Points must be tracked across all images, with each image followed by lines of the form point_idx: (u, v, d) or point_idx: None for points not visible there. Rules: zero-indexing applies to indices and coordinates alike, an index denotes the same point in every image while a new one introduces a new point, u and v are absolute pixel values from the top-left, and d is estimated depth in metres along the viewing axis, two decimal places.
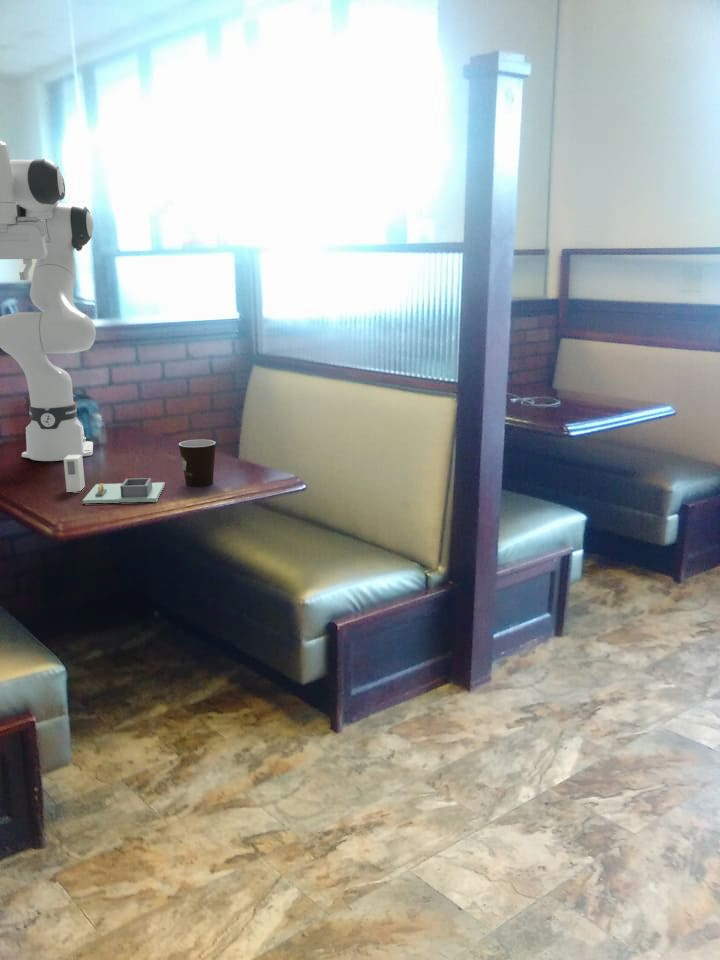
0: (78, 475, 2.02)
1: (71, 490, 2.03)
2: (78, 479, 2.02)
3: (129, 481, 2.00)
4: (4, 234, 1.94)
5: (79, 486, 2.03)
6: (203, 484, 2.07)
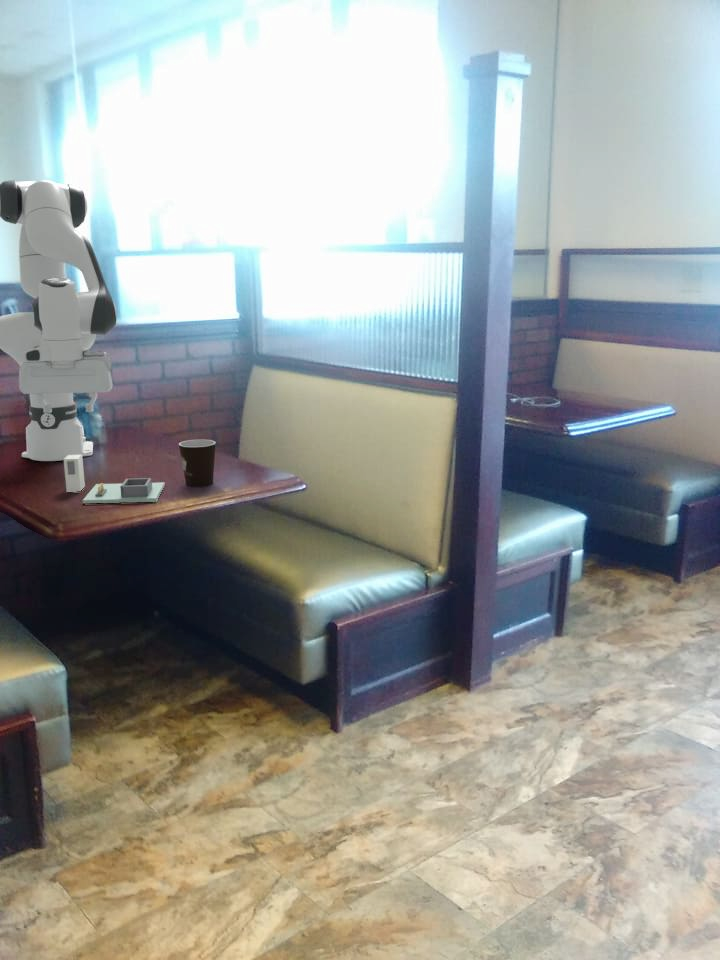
0: (78, 475, 2.02)
1: (71, 490, 2.03)
2: (78, 479, 2.02)
3: (129, 481, 2.00)
4: (71, 369, 1.97)
5: (79, 486, 2.03)
6: (203, 484, 2.07)
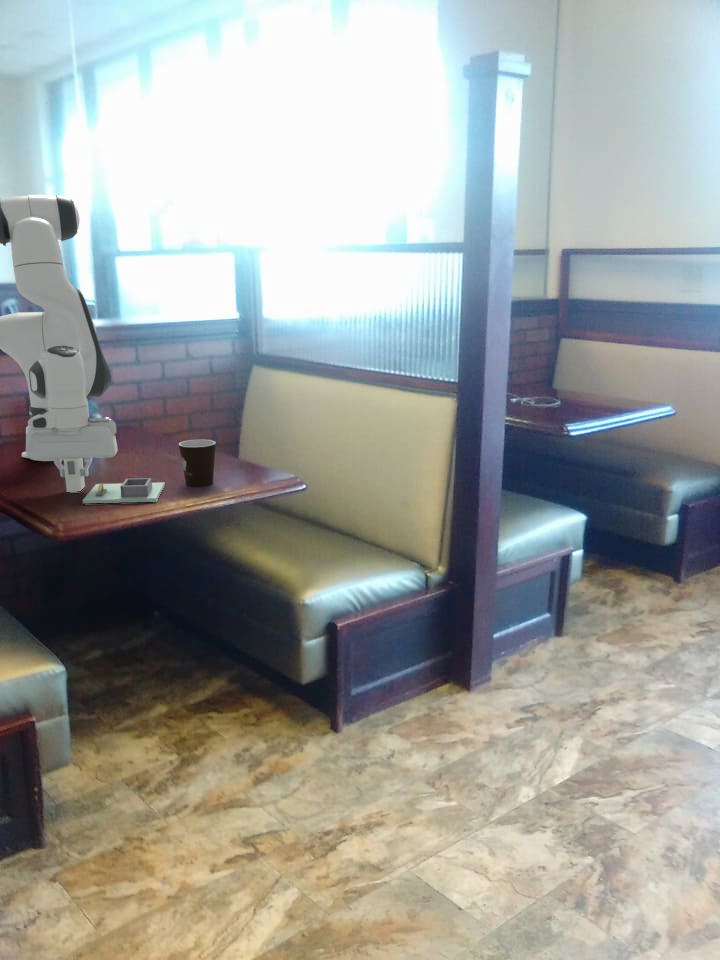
0: (78, 475, 2.02)
1: (71, 490, 2.03)
2: (78, 479, 2.02)
3: (129, 481, 2.00)
4: (77, 435, 2.00)
5: (79, 486, 2.03)
6: (203, 484, 2.07)
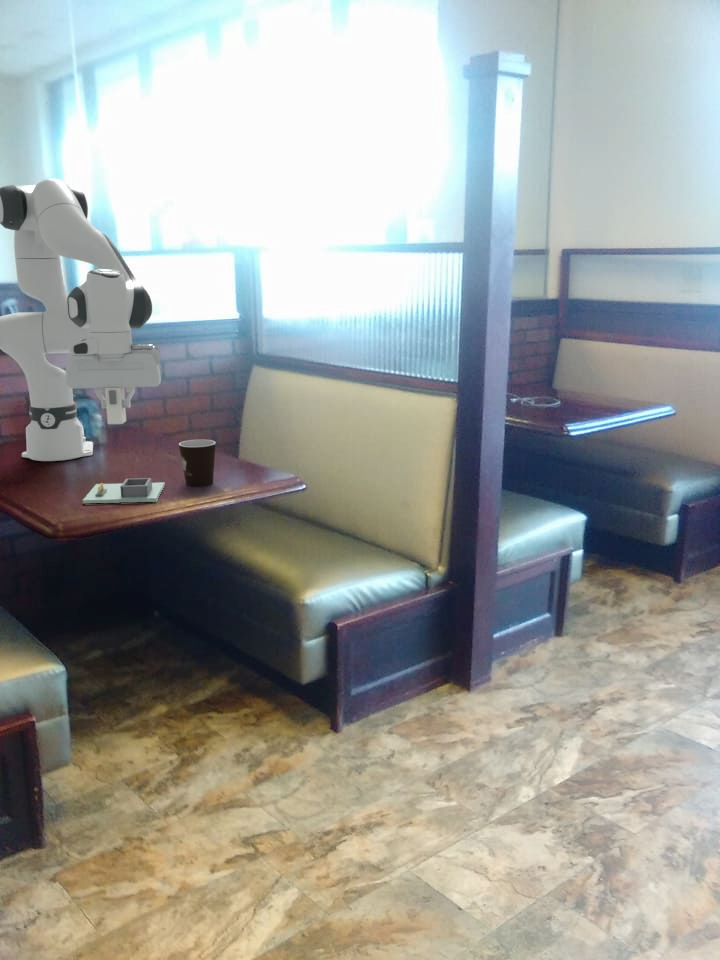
0: (120, 405, 1.92)
1: (112, 422, 1.93)
2: (120, 410, 1.92)
3: (129, 481, 2.00)
4: (120, 363, 1.91)
5: (121, 417, 1.92)
6: (203, 484, 2.07)
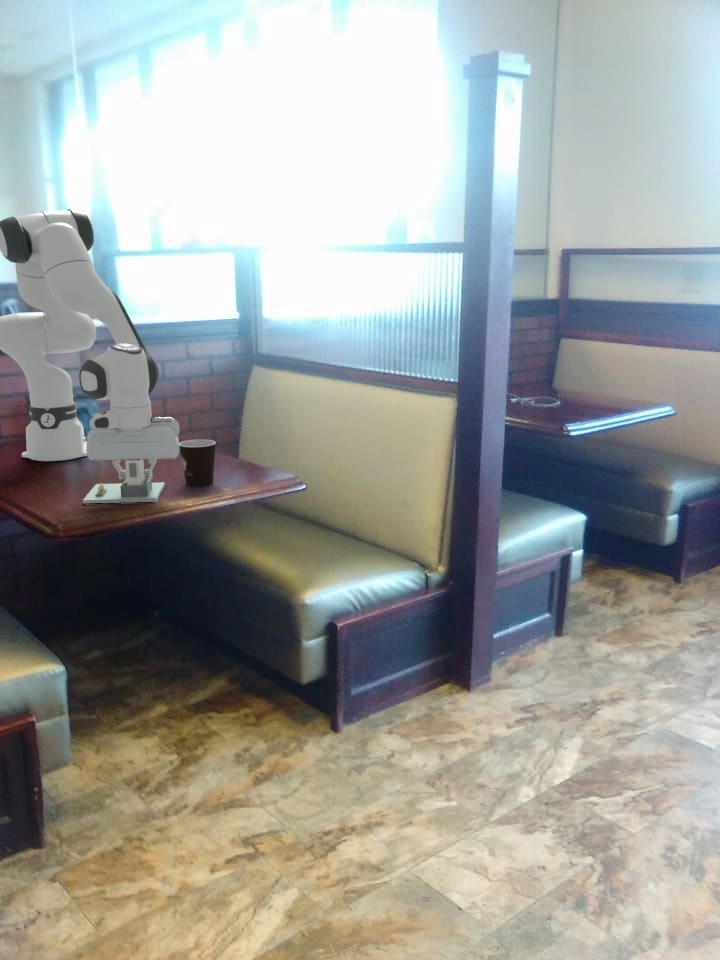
0: (140, 477, 1.95)
1: None
2: (140, 482, 1.95)
3: None
4: (140, 436, 1.94)
5: None
6: (203, 484, 2.07)
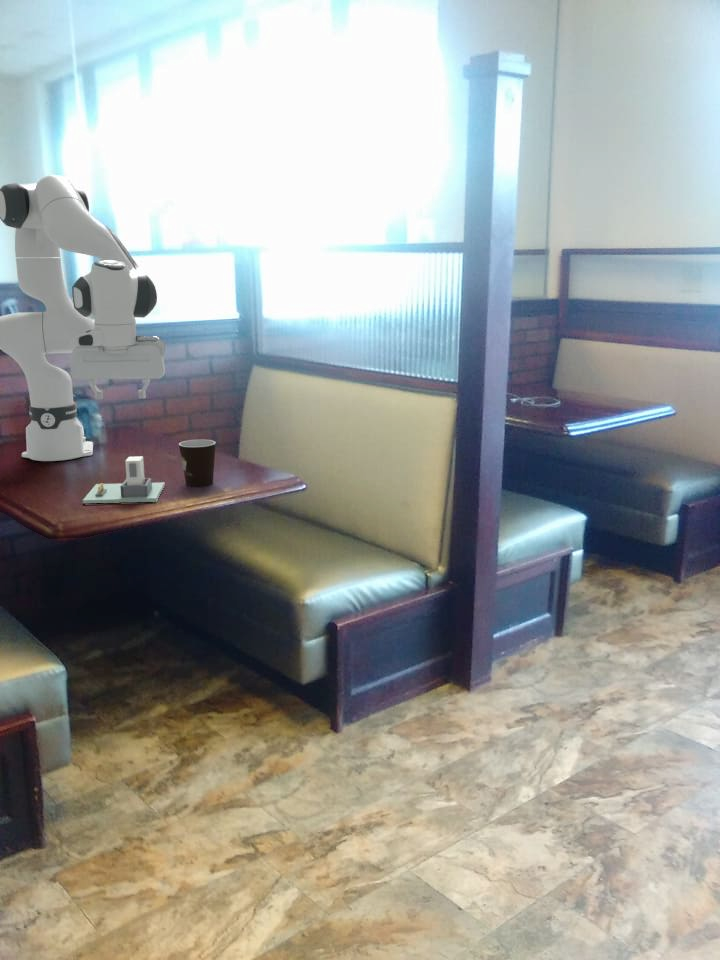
0: (140, 477, 1.95)
1: None
2: (140, 482, 1.95)
3: None
4: (124, 355, 1.92)
5: None
6: (203, 484, 2.07)
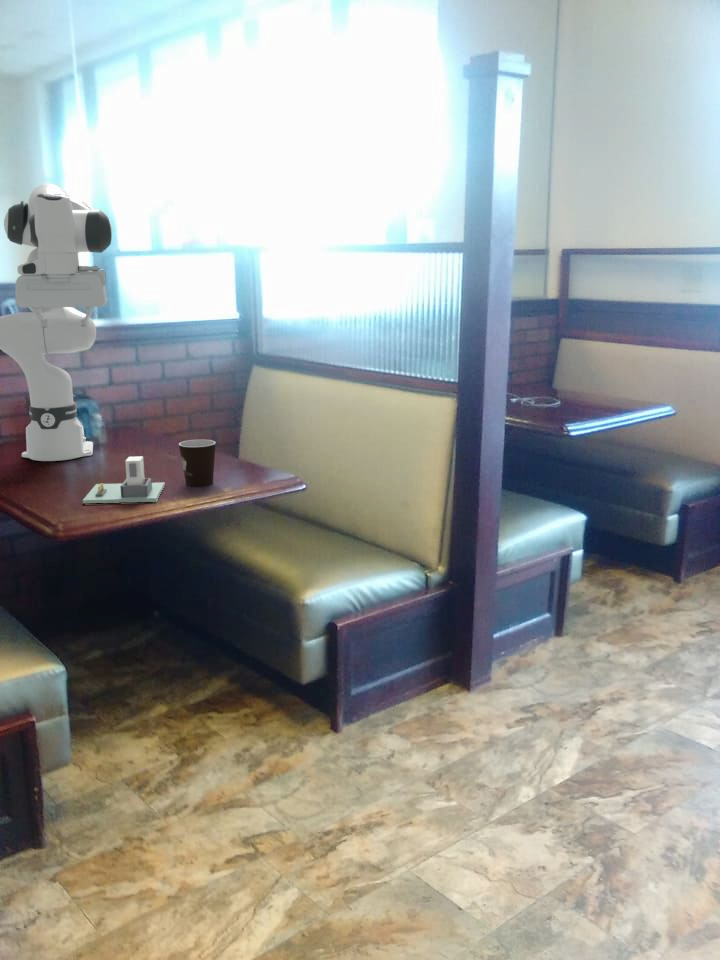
0: (140, 477, 1.95)
1: None
2: (140, 482, 1.95)
3: None
4: (67, 283, 2.01)
5: None
6: (203, 484, 2.07)
